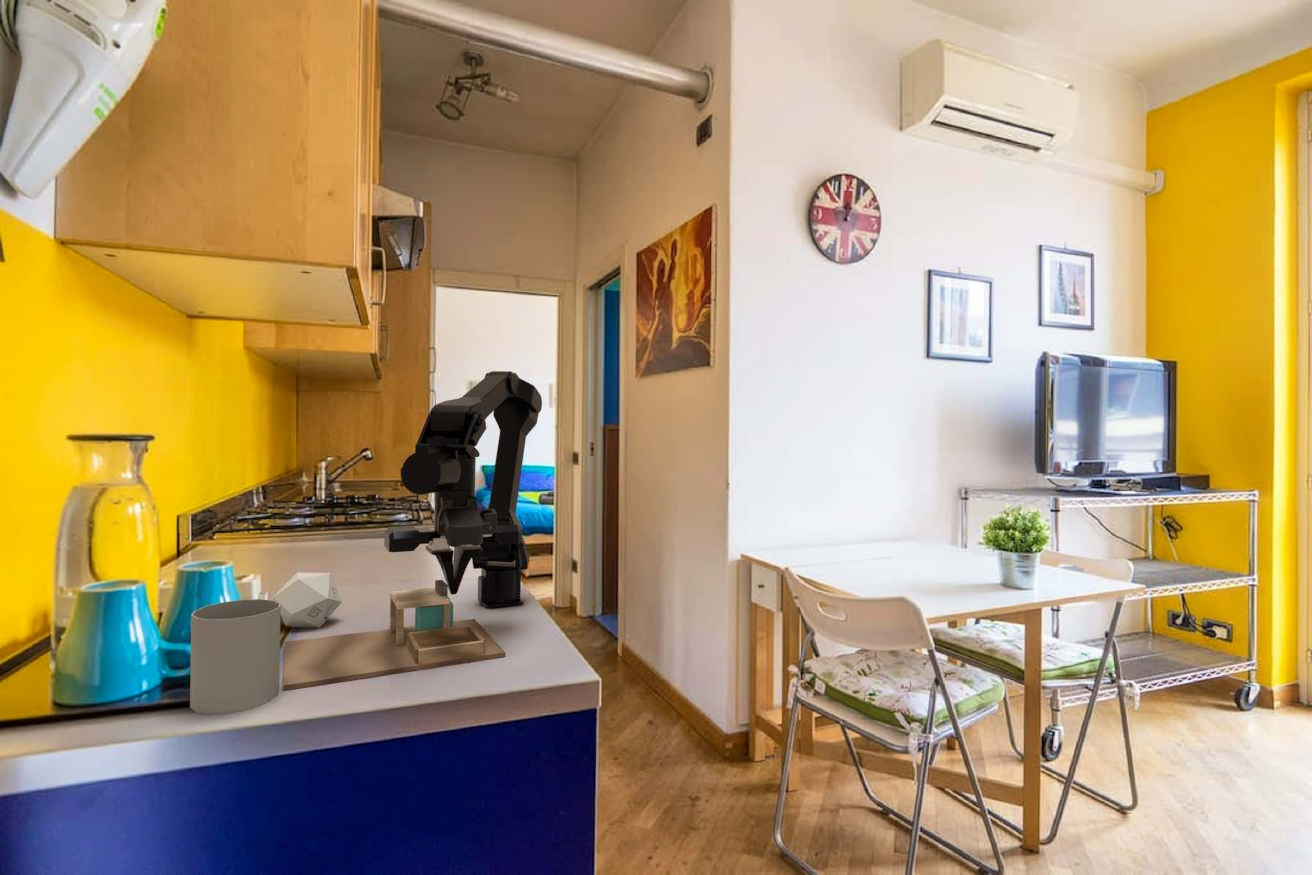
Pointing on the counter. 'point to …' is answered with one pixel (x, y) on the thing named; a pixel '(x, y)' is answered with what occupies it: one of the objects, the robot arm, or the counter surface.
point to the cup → (234, 655)
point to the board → (384, 653)
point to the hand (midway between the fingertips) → (453, 593)
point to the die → (308, 599)
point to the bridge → (417, 605)
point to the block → (431, 617)
